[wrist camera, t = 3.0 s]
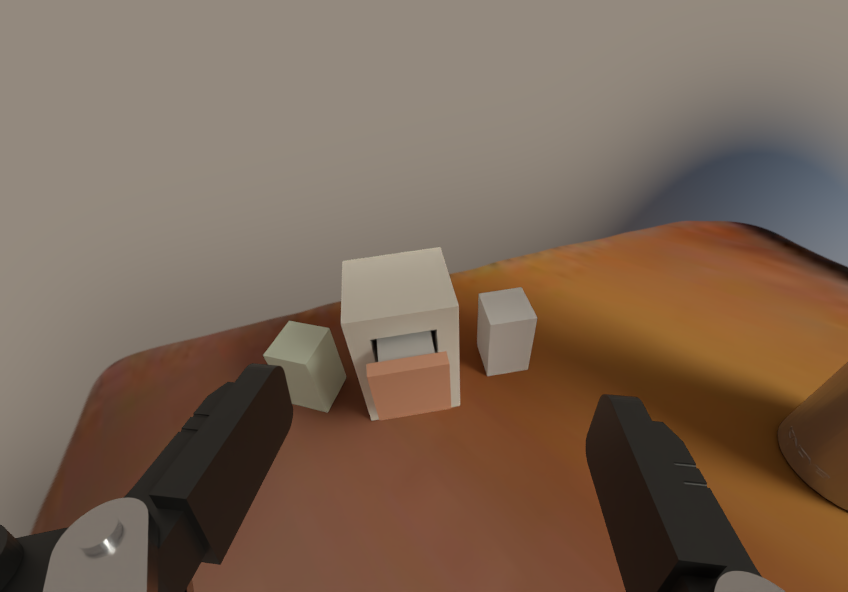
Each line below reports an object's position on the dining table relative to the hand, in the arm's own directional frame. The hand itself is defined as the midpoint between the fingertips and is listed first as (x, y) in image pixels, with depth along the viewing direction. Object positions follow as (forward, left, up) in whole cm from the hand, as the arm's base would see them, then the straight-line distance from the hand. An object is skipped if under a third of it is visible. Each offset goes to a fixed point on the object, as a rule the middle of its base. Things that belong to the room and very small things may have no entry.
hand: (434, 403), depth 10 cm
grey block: (-6, -22, -26) cm, 34 cm away
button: (+3, -16, -19) cm, 25 cm away
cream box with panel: (+4, -19, -25) cm, 32 cm away
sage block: (+14, -18, -26) cm, 34 cm away
